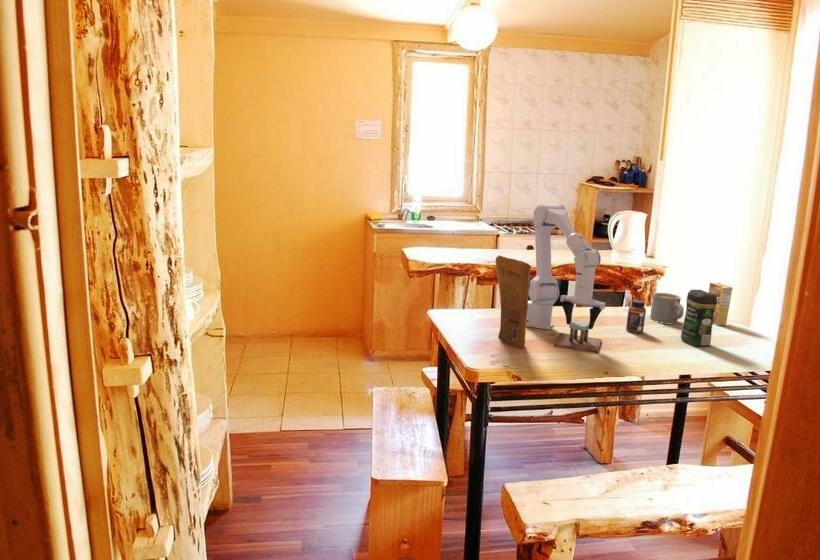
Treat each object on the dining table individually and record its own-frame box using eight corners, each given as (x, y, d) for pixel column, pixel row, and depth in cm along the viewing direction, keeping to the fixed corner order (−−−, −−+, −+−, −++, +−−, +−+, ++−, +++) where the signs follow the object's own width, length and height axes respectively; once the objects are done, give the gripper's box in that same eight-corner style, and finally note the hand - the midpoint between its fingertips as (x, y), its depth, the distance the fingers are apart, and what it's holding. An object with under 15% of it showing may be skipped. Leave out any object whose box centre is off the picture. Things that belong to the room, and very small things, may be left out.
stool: (567, 341, 204) (569, 323, 202) (573, 337, 208) (575, 320, 206) (582, 344, 200) (584, 327, 199) (588, 341, 205) (590, 324, 203)
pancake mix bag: (513, 351, 192) (521, 264, 187) (487, 333, 210) (494, 253, 204) (532, 350, 195) (541, 263, 189) (505, 332, 212) (512, 253, 206)
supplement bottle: (644, 334, 219) (648, 303, 217) (626, 332, 220) (630, 302, 218) (641, 330, 225) (645, 300, 223) (624, 328, 226) (628, 298, 224)
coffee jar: (676, 338, 216) (683, 287, 212) (696, 338, 217) (704, 288, 213) (692, 347, 207) (701, 294, 203) (714, 347, 208) (722, 294, 204)
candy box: (703, 319, 245) (709, 282, 242) (712, 319, 246) (718, 282, 243) (716, 325, 237) (723, 287, 233) (726, 326, 237) (733, 287, 234)
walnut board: (553, 345, 200) (553, 343, 200) (559, 334, 213) (559, 332, 213) (597, 353, 195) (597, 350, 195) (601, 341, 208) (601, 339, 208)
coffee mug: (644, 317, 244) (648, 292, 242) (667, 317, 246) (670, 292, 244) (664, 326, 231) (668, 301, 229) (688, 326, 233) (692, 301, 231)
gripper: (610, 288, 199) (605, 328, 202) (568, 280, 207) (563, 319, 210) (602, 291, 193) (597, 332, 196) (559, 283, 202) (555, 323, 205)
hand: (579, 326), depth 203 cm, fingers open, 7 cm apart
